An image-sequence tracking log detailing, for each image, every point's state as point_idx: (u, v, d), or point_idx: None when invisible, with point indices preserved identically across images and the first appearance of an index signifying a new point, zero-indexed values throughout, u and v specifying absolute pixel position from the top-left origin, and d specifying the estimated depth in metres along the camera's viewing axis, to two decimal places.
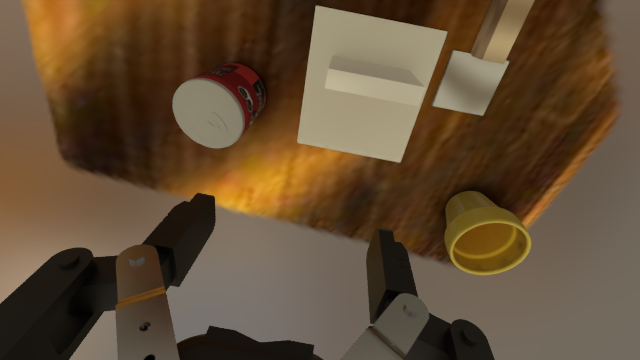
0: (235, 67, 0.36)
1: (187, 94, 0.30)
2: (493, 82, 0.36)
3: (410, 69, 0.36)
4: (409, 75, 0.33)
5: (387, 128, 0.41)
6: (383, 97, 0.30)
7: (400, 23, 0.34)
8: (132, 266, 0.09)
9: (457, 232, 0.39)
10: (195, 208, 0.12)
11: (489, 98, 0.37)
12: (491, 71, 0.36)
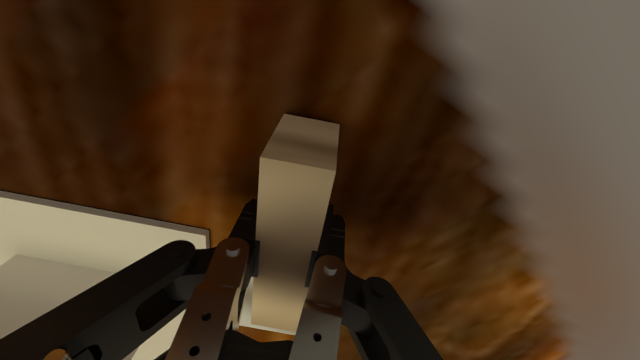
0: None
1: None
2: None
3: None
4: None
5: (170, 344, 0.23)
6: None
7: (108, 218, 0.17)
8: (231, 257, 0.10)
9: None
10: None
11: None
12: None
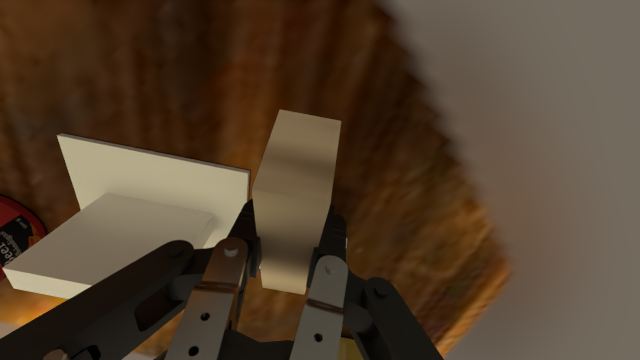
0: None
1: None
2: None
3: (214, 212, 0.26)
4: (185, 240, 0.23)
5: None
6: None
7: (180, 161, 0.24)
8: (229, 257, 0.10)
9: None
10: None
11: None
12: None
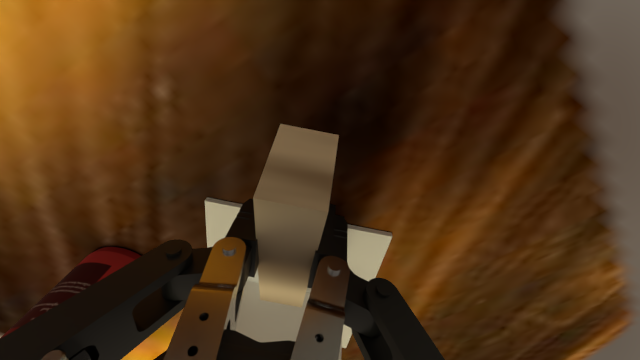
0: (101, 272, 0.26)
1: None
2: None
3: None
4: None
5: None
6: None
7: None
8: (228, 257, 0.10)
9: None
10: None
11: None
12: None
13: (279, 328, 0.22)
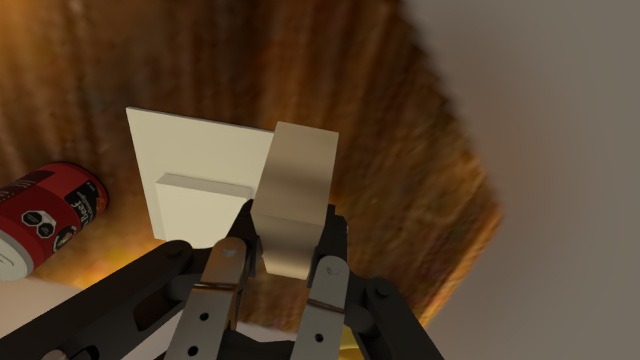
0: (46, 175, 0.31)
1: None
2: None
3: (253, 171, 0.31)
4: None
5: None
6: None
7: (226, 126, 0.29)
8: (228, 257, 0.10)
9: None
10: None
11: None
12: None
13: (206, 232, 0.34)
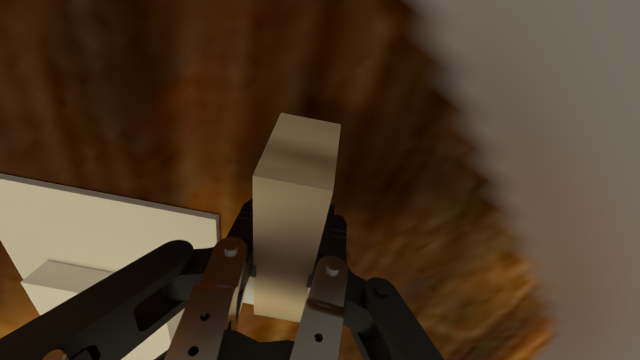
0: None
1: None
2: None
3: None
4: (161, 336, 0.22)
5: None
6: None
7: (125, 204, 0.18)
8: (229, 257, 0.10)
9: None
10: None
11: None
12: None
13: None
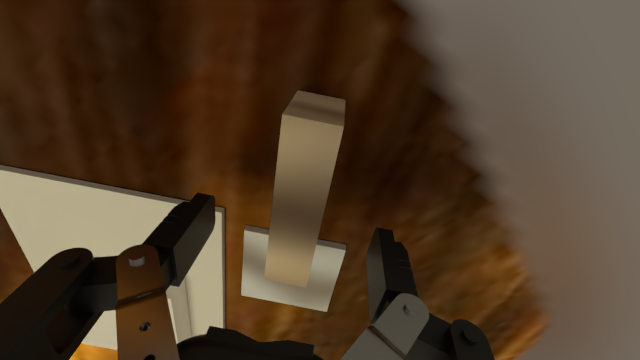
0: None
1: None
2: (328, 275, 0.21)
3: None
4: None
5: None
6: None
7: (135, 197, 0.19)
8: (132, 266, 0.09)
9: None
10: (195, 208, 0.12)
11: (329, 293, 0.22)
12: (320, 261, 0.20)
13: None
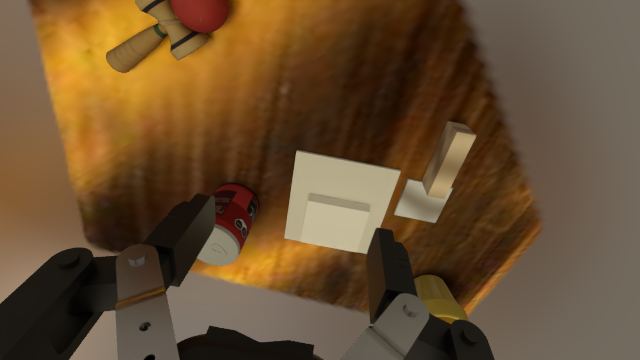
0: (233, 194, 0.45)
1: None
2: (441, 201, 0.45)
3: (373, 193, 0.45)
4: (360, 229, 0.47)
5: None
6: None
7: (363, 164, 0.43)
8: (132, 266, 0.09)
9: None
10: (195, 208, 0.12)
11: (439, 211, 0.46)
12: None
13: (332, 235, 0.48)
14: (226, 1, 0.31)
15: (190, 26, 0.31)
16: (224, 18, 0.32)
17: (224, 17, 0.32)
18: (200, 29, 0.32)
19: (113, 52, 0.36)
